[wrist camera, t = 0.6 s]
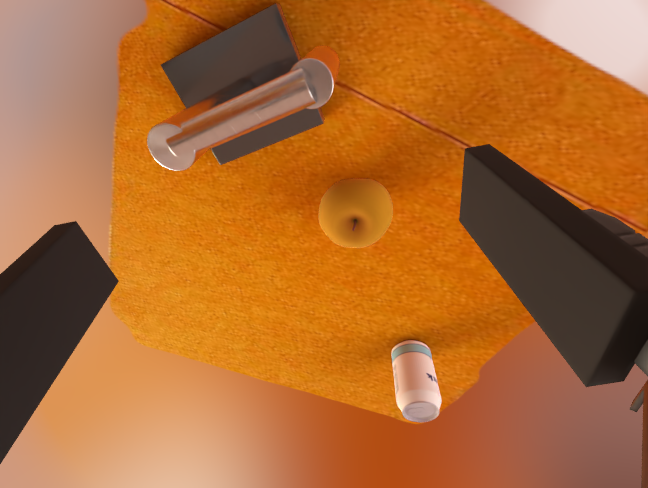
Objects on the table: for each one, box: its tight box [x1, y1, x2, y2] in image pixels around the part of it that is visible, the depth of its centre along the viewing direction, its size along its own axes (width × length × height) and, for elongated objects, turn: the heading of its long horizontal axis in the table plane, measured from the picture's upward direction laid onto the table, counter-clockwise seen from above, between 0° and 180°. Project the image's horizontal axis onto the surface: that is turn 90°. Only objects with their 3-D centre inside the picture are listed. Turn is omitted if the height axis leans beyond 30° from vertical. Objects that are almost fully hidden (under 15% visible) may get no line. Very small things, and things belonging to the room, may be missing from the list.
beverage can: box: [391, 340, 441, 422], centre depth 56 cm, size 7×7×12 cm
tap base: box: [161, 3, 325, 165], centre depth 38 cm, size 14×12×2 cm
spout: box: [147, 45, 340, 171], centre depth 28 cm, size 13×3×18 cm, turn 113°
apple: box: [318, 178, 393, 248], centre depth 41 cm, size 9×9×9 cm
